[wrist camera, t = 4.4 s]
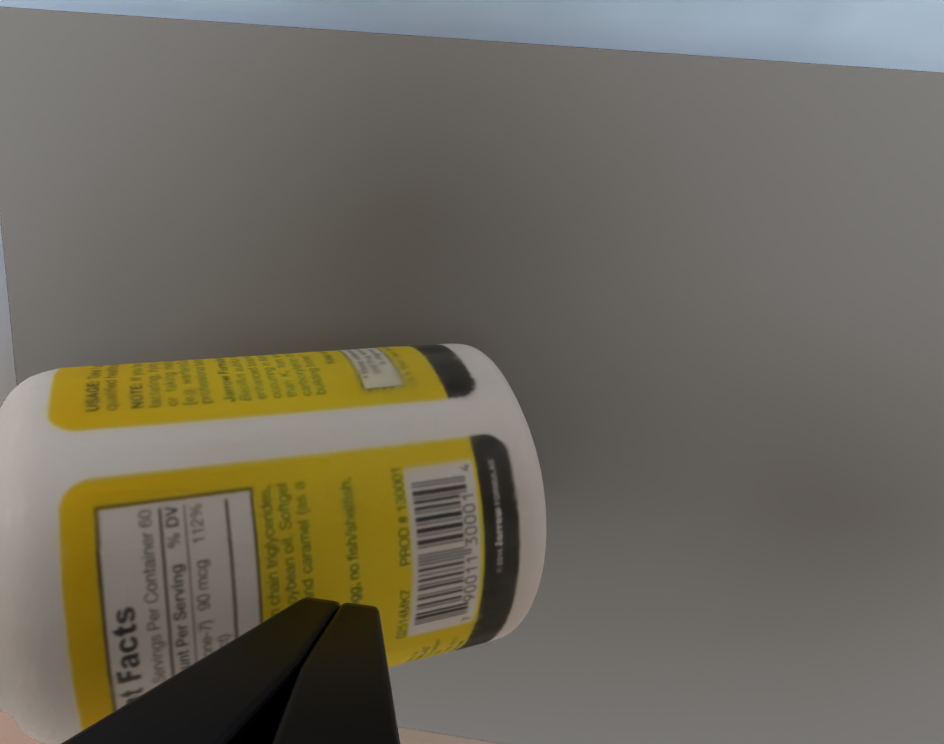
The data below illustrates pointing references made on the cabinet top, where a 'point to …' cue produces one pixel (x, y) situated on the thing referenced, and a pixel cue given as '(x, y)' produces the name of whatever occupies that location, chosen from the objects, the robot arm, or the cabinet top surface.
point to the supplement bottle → (254, 513)
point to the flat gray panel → (551, 329)
